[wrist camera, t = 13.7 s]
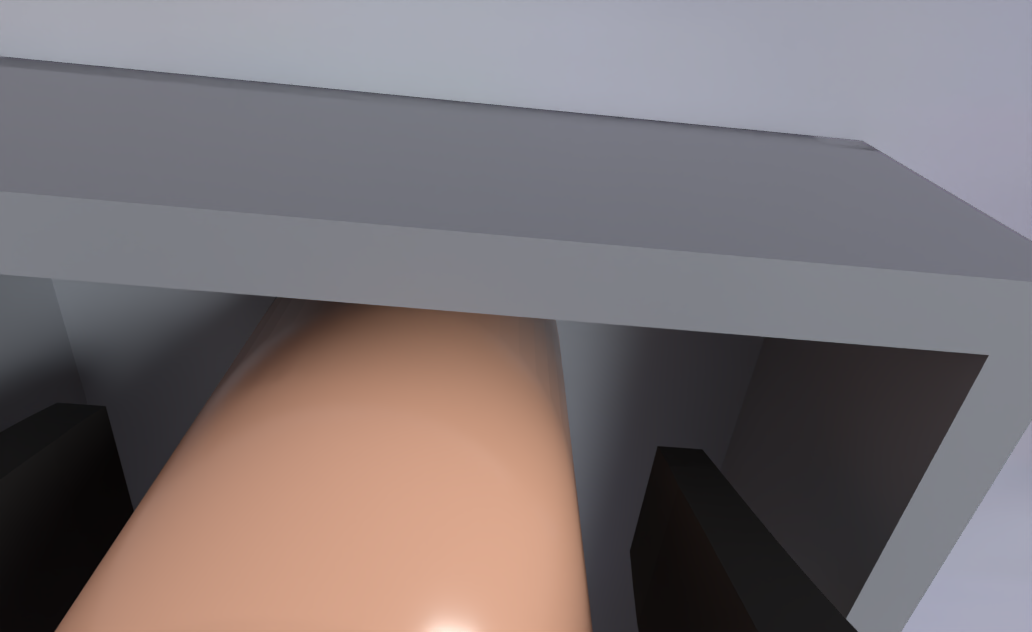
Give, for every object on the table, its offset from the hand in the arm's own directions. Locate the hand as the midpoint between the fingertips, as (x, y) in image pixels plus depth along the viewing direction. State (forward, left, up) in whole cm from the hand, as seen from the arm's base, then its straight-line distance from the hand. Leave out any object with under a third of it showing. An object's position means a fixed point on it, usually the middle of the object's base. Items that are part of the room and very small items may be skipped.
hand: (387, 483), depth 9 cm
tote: (-4, 0, -4) cm, 6 cm away
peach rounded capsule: (0, 0, -3) cm, 3 cm away
